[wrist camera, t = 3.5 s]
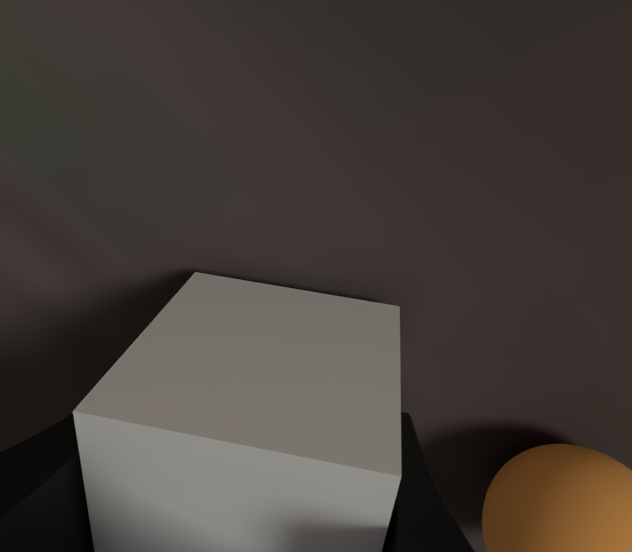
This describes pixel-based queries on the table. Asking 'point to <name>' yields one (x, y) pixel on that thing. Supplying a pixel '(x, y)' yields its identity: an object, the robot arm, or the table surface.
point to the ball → (559, 502)
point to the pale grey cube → (247, 425)
